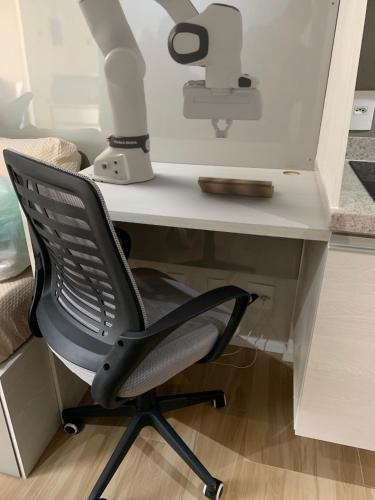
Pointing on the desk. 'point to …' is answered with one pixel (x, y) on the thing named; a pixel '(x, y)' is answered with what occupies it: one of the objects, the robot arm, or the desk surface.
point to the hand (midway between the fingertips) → (221, 137)
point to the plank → (236, 186)
